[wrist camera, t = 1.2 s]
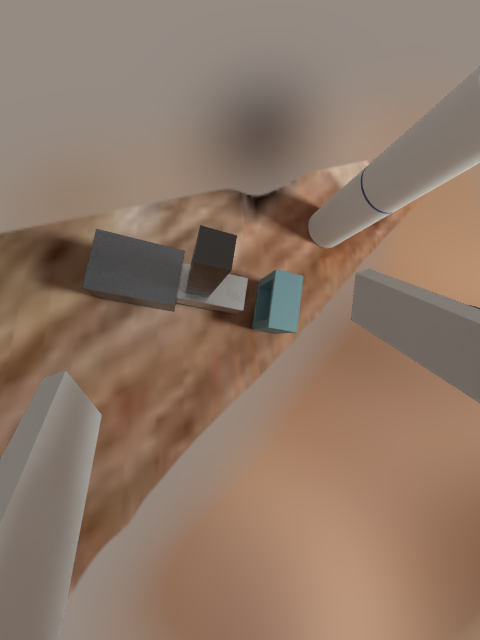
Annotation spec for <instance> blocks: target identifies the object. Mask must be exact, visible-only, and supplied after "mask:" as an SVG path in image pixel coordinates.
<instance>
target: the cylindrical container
mask: <svg viewBox="0 0 480 640" xmlns="http://www.w3.org/2000/svg"><path fill="white" fill-rule="evenodd" d="M478 163H480V67H478V68H477V69H476V70H475V71H474V72H473V73H472V74H471V75H469V76H468V77H467V78H466V79H465V80H464V81H463V82H462V83H461V84H459V85H458V86H457V87H456V88H455V89H454V90H453V91H451V92H450V93H449V94H448V95H447V96H446V97H445V98H444V99H443V100H441V101H440V102H439V103H438V104H437V105H436V106H435V107H434V108H432V109H431V110H430V111H429V112H428V113H427V114H426V115H424V116H423V117H422V118H421V119H420V120H419V121H418V122H417V123H415V124H414V125H413V126H412V127H411V128H410V129H409V130H408V131H406V132H405V133H404V134H403V135H402V136H401V137H400V138H399V139H397V140H396V141H395V142H394V143H393V144H392V145H391V146H390V147H388V148H387V149H386V150H385V151H384V152H383V153H382V154H381V155H379V156H378V157H377V158H376V159H375V160H374V161H373V162H371V163H370V164H369V165H368V166H367V167H366V168H365V169H364V170H362V171H361V172H360V173H359V174H358V175H357V176H356V177H355V178H353V179H352V180H351V181H350V182H349V183H348V184H347V185H346V186H344V187H343V188H342V189H341V190H340V191H339V192H338V193H337V194H335V195H334V196H333V197H332V198H331V199H330V200H329V201H328V202H326V203H325V204H324V205H323V206H322V207H321V208H320V209H319V210H317V211H316V212H315V213H314V214H313V215H312V216H311V218H310V219H309V223H308V230H309V234H310V236H311V238H312V240H313V241H314V242H315V243H316V244H317V245H319V246H321V247H323V248H331V247H334V246H335V245H337V244H339V243H341V242H342V241H344V240H346V239H348V238H349V237H351V236H353V235H354V234H356V233H358V232H360V231H361V230H363V229H365V228H367V227H368V226H370V225H372V224H374V223H375V222H377V221H379V220H381V219H382V218H384V217H386V216H387V215H389V214H391V213H393V212H394V211H396V210H398V209H400V208H401V207H403V206H405V205H407V204H408V203H410V202H412V201H414V200H415V199H417V198H419V197H421V196H422V195H424V194H426V193H428V192H429V191H431V190H433V189H434V188H436V187H438V186H440V185H442V184H443V183H445V182H447V181H449V180H450V179H452V178H454V177H456V176H457V175H459V174H461V173H462V172H464V171H466V170H468V169H469V168H471V167H473V166H475V165H476V164H478Z"/></svg>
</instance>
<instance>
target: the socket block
mask: <svg viewBox="0 0 480 640" xmlns="http://www.w3.org/2000/svg"><path fill="white" fill-rule="evenodd" d="M302 283H303V276H300V275H296V274H292V273H288V272H285V271H281V270H277V269H276V270H275V271H273V272H272V273H270V274H269V275H267V276H266V277H264V278H263V279H261V280H260V281H259V282H258V289H257V296H256V303H255V310H254V316H253V323H252V329H253V330H258V331H264V332H270V333H275V334H276V333H296V332H297V325H298V317H299V308H300V300H301V292H302Z"/></svg>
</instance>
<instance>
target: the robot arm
mask: <svg viewBox="0 0 480 640" xmlns="http://www.w3.org/2000/svg"><path fill="white" fill-rule="evenodd" d="M351 320H352V321H353V322H355V323H357V324H358V325H360V326H361V327H363V328H364V329H366V330H367V331H369V332H370V333H372V334H374V335H375V336H377V337H378V338H380V339H381V340H383V341H384V342H386V343H388V344H389V345H391V346H392V347H394V348H395V349H397V350H398V351H400V352H401V353H403V354H405V355H406V356H408V357H409V358H411V359H412V360H414V361H416V362H417V363H419V364H420V365H422V366H423V367H425V368H426V369H428V370H429V371H431V372H433V373H434V374H436V375H437V376H439V377H440V378H442V379H443V380H445V381H446V382H448V383H450V384H451V385H453V386H454V387H456V388H457V389H459V390H461V391H462V392H464V393H465V394H467V395H468V396H470V397H471V398H473V399H474V400H476V401H478V402H479V403H480V308H478V307H475V306H471V305H467V304H464V303H461V302H458V301H456V300H453V299H450V298H447V297H445V296H442V295H439V294H436V293H433V292H431V291H428V290H425V289H423V288H420V287H417V286H414V285H411V284H409V283H406V282H404V281H401V280H398V279H395V278H393V277H390V276H387V275H384V274H381V273H379V272H376V271H373V270H371V269H367V270H364V271H361V272H358V273H356V276H355V286H354V295H353V304H352V314H351ZM101 416H102V415H101V414H100V412H99V411H98V410H97V409H96V407H95V406H94V405H93V404H92V402H91V401H90V400H89V399H88V397H87V396H86V395H85V394H84V392H83V391H82V390H81V389H80V387H79V386H78V385H77V384H76V383H75V381H74V380H73V379H72V378H71V376H70V375H69V374H68V373H67V371H63V372H60V373H57V374H54V375H51V376H48V377H45V378H43V380H42V382H41V384H40V386H39V387H38V389H37V391H36V393H35V395H34V397H33V399H32V401H31V403H30V404H29V406H28V408H27V410H26V412H25V414H24V416H23V418H22V420H21V421H20V423H19V425H18V427H17V429H16V431H15V433H14V435H13V437H12V438H11V440H10V442H9V444H8V446H7V448H6V450H5V452H4V454H3V455H2V457H1V459H0V640H59V639H60V634H61V628H62V623H63V617H64V612H65V607H66V602H67V597H68V591H69V586H70V581H71V575H72V570H73V565H74V559H75V554H76V549H77V543H78V538H79V533H80V527H81V522H82V517H83V511H84V506H85V501H86V496H87V490H88V485H89V480H90V474H91V469H92V464H93V458H94V453H95V448H96V442H97V437H98V432H99V426H100V421H101Z"/></svg>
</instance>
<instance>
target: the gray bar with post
mask: <svg viewBox="0 0 480 640" xmlns="http://www.w3.org/2000/svg"><path fill="white" fill-rule="evenodd" d="M236 238H237V235H233V234H229V233H226V232H222V231H219V230H215V229H212V228H208V227H205V226H201V225H200V229H199V233H198V237H197V241H196V245H195V249H194V254H193V258H192V262H191V265H189V264H185V263H183V264H182V269H181V274H180V280H179V285H178V290H177V296H176V301H175V303H180V304H185V305H190V306H196V307H201V308H206V309H211V310H217V311H222V312H227V313H232V314H236V313H238V312H241V311H243V309H244V302H245V295H246V289H247V282H248V278H244V277H240V276H236V275H232V274H229V273H230V272H231V269H232V263H233V257H234V251H235V244H236Z"/></svg>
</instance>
